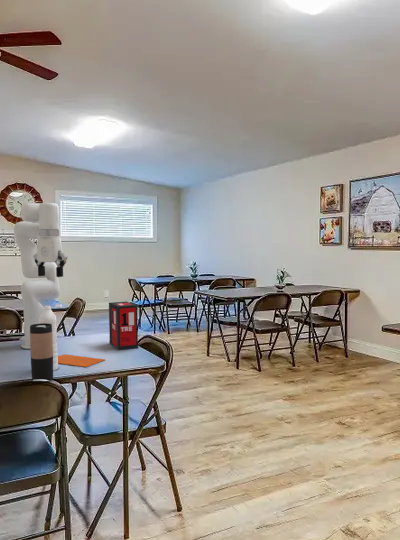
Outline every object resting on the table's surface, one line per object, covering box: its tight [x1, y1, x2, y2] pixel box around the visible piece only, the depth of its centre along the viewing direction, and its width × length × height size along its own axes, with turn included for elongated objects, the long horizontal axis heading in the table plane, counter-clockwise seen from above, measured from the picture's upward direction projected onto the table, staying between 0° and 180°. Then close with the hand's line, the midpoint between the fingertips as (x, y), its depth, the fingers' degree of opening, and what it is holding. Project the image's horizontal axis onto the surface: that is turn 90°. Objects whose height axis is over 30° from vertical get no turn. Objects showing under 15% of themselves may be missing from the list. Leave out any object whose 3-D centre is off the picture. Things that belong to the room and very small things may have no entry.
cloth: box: [57, 354, 106, 368], centre depth 195 cm, size 22×12×1 cm, turn 64°
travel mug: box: [29, 323, 54, 381], centre depth 167 cm, size 8×8×20 cm
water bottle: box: [39, 304, 63, 371], centre depth 182 cm, size 9×6×25 cm
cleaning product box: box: [108, 300, 139, 351], centre depth 222 cm, size 16×9×20 cm, turn 26°
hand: (50, 276), depth 189 cm, fingers open, 9 cm apart
